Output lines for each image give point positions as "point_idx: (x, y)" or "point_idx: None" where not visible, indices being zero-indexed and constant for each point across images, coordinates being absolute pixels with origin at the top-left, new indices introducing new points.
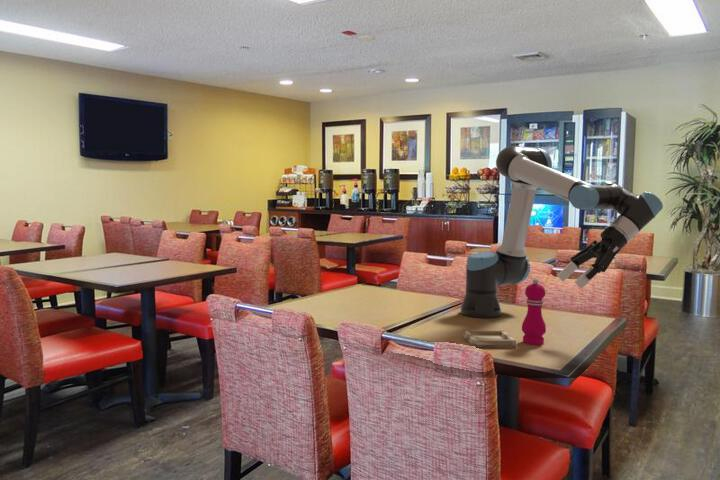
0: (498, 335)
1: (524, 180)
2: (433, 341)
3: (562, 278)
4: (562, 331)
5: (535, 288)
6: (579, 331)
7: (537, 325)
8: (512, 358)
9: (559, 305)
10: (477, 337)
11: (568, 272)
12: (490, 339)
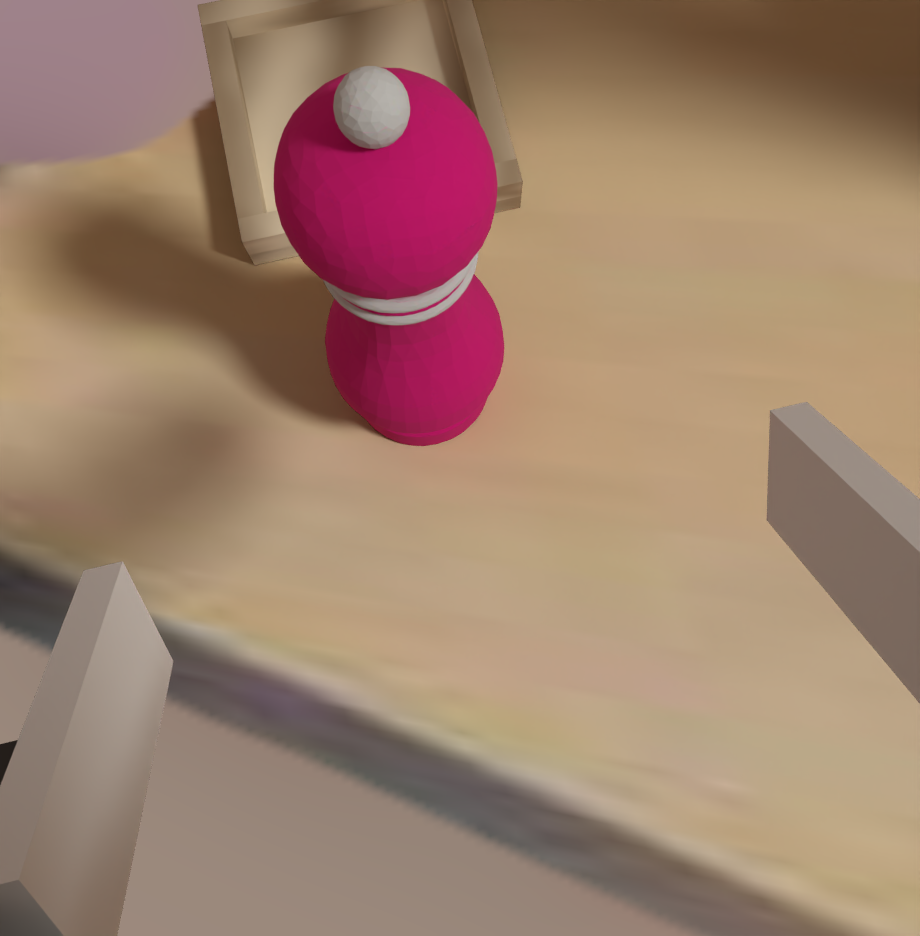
0: None
1: None
2: None
3: (779, 495)
4: (839, 635)
5: (284, 145)
6: (890, 778)
7: (329, 345)
8: (18, 232)
9: None
10: (384, 46)
11: (852, 576)
12: None
